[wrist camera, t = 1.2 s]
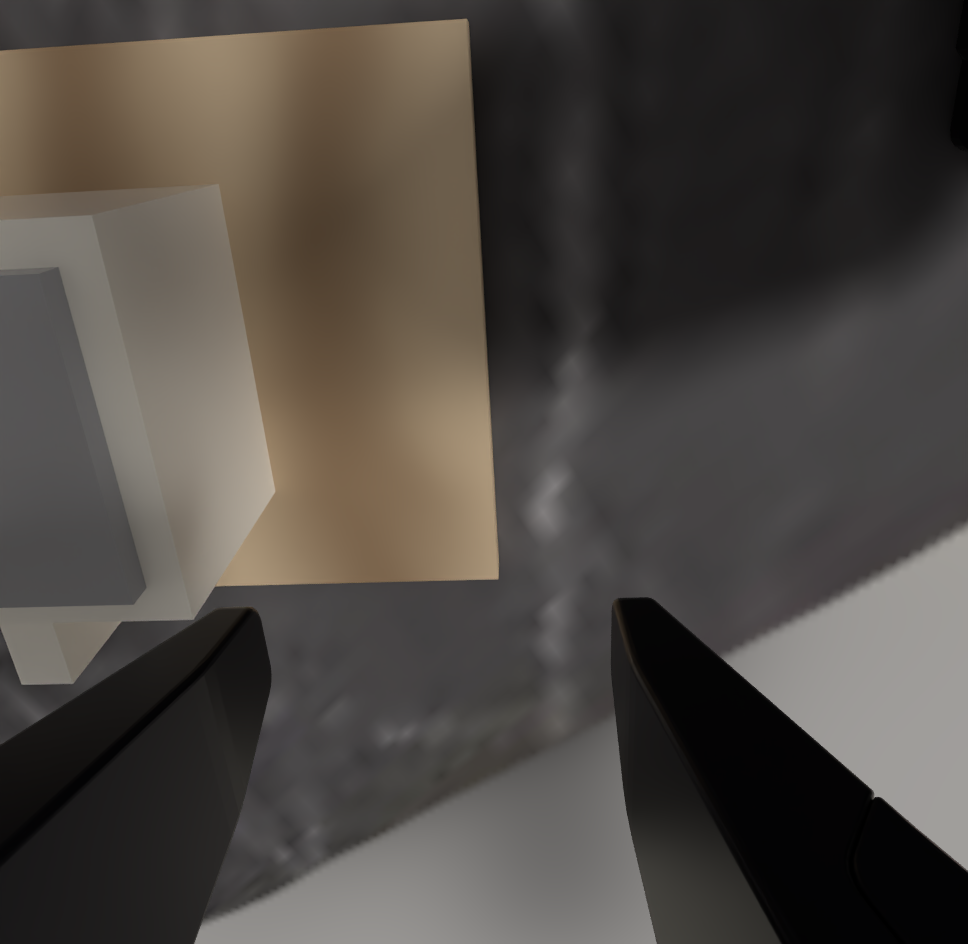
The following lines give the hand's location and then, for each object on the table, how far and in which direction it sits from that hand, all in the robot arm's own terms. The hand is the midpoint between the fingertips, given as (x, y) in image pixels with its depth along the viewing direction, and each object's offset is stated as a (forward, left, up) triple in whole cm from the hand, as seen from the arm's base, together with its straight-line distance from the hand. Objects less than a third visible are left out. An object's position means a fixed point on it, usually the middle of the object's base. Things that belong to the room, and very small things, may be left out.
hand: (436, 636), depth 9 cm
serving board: (+10, 0, -13) cm, 16 cm away
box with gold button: (+10, 0, -12) cm, 16 cm away
